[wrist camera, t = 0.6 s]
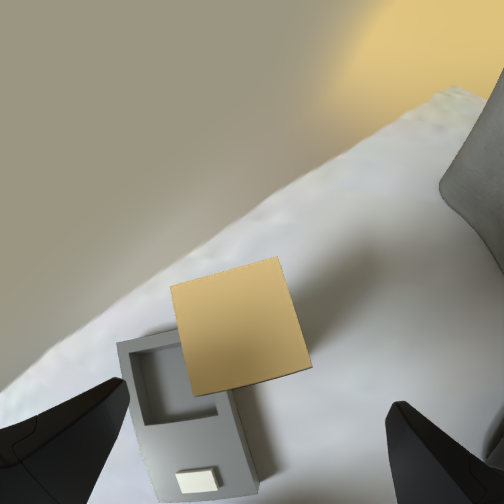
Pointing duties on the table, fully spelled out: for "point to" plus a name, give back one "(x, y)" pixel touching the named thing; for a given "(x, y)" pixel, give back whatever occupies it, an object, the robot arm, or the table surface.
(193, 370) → the plug
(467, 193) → the flask
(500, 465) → the muzzle brake
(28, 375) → the table surface
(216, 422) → the bar
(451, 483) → the robot arm
